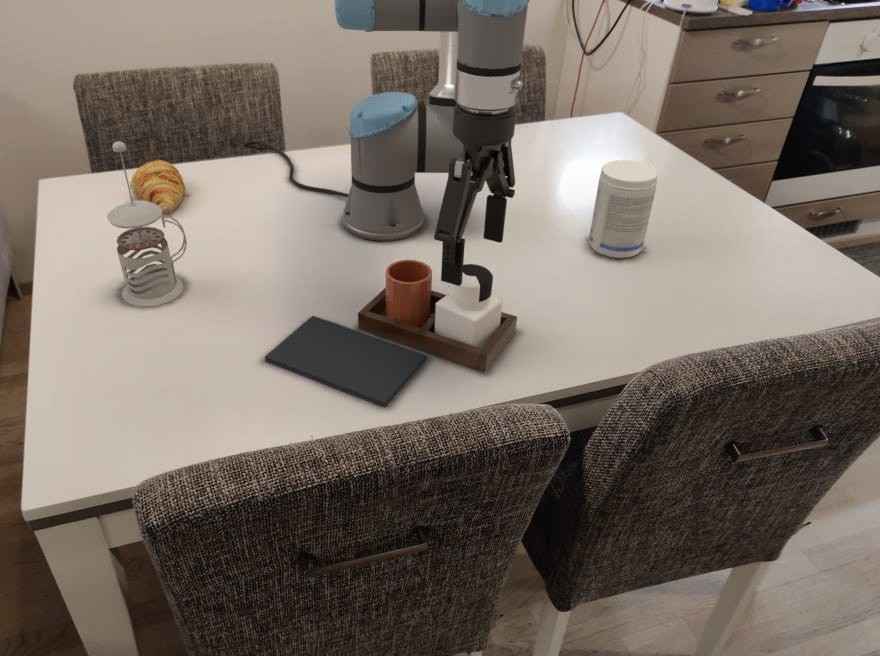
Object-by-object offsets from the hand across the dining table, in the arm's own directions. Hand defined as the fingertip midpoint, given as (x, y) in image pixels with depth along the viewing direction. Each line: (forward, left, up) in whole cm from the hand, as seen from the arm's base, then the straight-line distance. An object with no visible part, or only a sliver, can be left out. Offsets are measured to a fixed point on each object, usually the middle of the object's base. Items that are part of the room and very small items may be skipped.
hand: (473, 260), depth 100 cm
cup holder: (-5, 0, -14) cm, 15 cm away
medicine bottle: (0, 0, -14) cm, 14 cm away
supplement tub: (+11, +40, -14) cm, 44 cm away
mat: (-13, -13, -14) cm, 23 cm away
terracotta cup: (-10, 0, -14) cm, 17 cm away
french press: (-50, -12, -14) cm, 54 cm away
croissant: (-75, +14, -14) cm, 78 cm away
